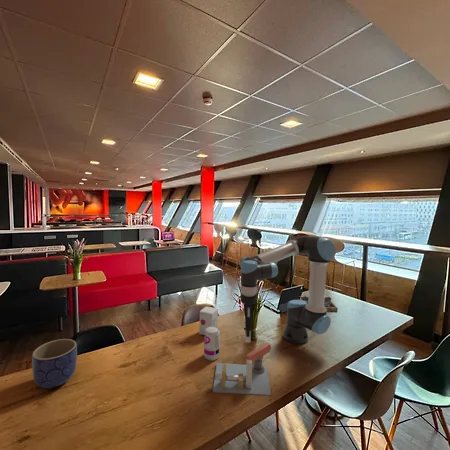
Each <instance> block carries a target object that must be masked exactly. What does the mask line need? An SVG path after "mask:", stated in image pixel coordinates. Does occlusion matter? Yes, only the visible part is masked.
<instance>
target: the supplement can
mask: <svg viewBox="0 0 450 450" xmlns="http://www.w3.org/2000/svg"><path fill="white" fill-rule="evenodd" d="M220 331H221V330H220V328H218V326H217V327H214V326H210V327H207V328H206V330H205V333H204V335H203V337H204V339H203V340H204V342H203V357H204V359H206V360H207V361H216V360H217V359H218V358H219V357H220V341H221V340H220V339H221V338H220V337H221V332H220Z"/></svg>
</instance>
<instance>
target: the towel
mask: <svg viewBox="0 0 450 450" xmlns="http://www.w3.org/2000/svg"><path fill="white" fill-rule="evenodd" d="M303 297H305V298H304V299H305V300H306V302H307V304H308V298H309V294H306V295H303ZM305 300H303V301H305ZM331 302H332V297H330V296H329V295H325V300H324V307H330V304H331Z"/></svg>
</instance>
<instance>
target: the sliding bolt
mask: <svg viewBox="0 0 450 450" xmlns="http://www.w3.org/2000/svg"><path fill="white" fill-rule="evenodd" d="M245 363H246V364H245V365H246V376H239V375H226V381H234V382H239V379H243V382H246V388H250V389H251V386H252V365H253V363H252V360H247V362H246V361H245ZM214 380H220V381H222V374H215V373H214V379H213V381H214Z"/></svg>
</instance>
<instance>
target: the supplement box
mask: <svg viewBox="0 0 450 450" xmlns="http://www.w3.org/2000/svg"><path fill="white" fill-rule="evenodd" d="M218 314H219V308H217V307H210V306H205V307H203V308H202V309H200V311H199V331H198V332H199V333H198V334H199V335H202V336H204V333H205V330H206V328H207V327H210V326H214V327H217V328H218V316H219V315H218Z"/></svg>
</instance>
